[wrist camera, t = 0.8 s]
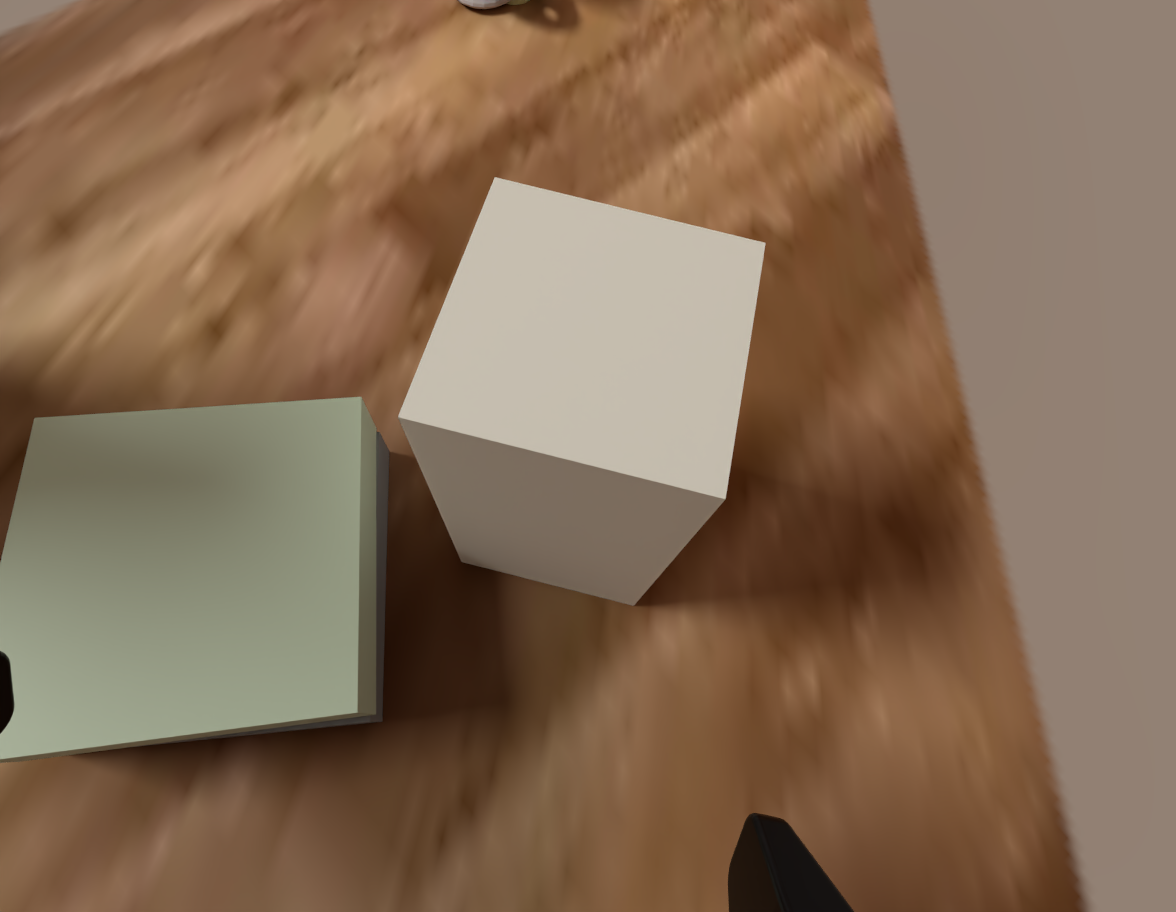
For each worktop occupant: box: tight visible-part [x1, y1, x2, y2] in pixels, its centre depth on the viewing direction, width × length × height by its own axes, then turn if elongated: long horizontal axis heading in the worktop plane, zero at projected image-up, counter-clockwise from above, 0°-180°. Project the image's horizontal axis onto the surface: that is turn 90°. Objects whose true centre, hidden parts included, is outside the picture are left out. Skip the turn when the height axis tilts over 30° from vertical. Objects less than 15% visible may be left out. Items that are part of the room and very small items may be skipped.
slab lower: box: [127, 432, 389, 748], centre depth 20 cm, size 9×9×2 cm
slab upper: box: [0, 397, 377, 763], centre depth 18 cm, size 9×9×2 cm
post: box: [398, 177, 765, 606], centre depth 17 cm, size 6×6×11 cm
